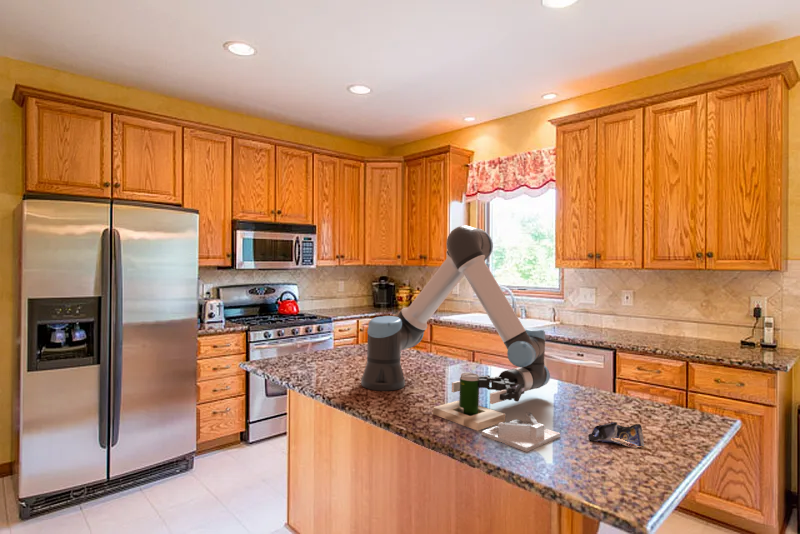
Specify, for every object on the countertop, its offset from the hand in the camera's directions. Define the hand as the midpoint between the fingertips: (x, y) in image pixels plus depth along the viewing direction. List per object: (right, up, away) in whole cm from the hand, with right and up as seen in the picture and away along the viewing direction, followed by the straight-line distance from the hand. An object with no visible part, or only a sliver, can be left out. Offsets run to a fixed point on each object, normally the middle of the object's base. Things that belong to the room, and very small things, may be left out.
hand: (471, 392), depth 127 cm
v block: (+10, -7, -11) cm, 17 cm away
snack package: (+33, -9, -13) cm, 37 cm away
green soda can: (-1, -7, +1) cm, 7 cm away
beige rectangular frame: (-1, -7, +1) cm, 7 cm away
